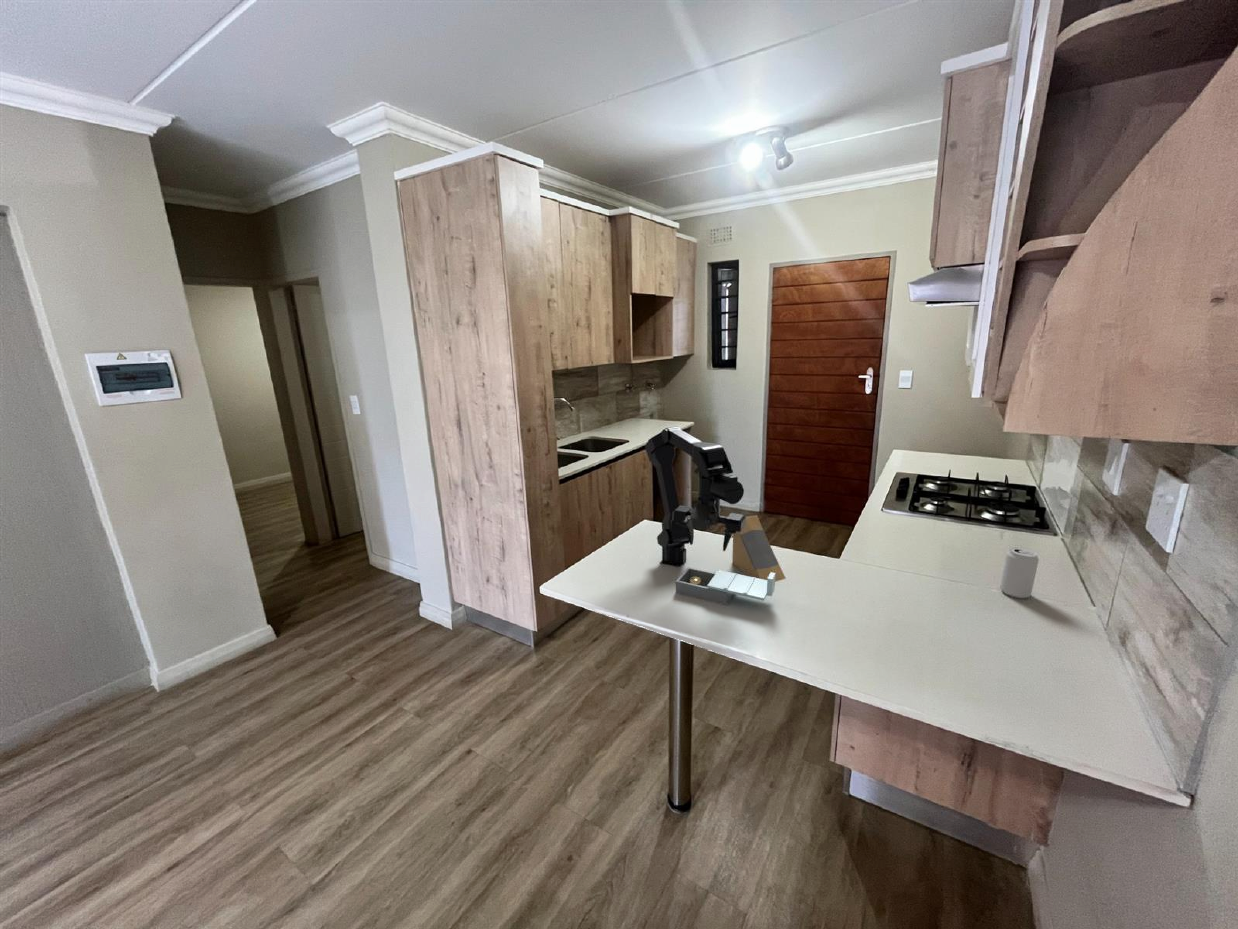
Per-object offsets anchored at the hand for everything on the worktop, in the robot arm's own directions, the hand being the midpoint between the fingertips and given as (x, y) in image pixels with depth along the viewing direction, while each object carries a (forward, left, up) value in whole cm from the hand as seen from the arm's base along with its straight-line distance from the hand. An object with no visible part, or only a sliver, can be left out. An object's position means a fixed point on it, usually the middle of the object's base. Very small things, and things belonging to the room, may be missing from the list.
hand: (707, 547), depth 130 cm
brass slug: (-2, -4, -11) cm, 12 cm away
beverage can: (+73, +32, -12) cm, 81 cm away
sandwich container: (+11, +15, -12) cm, 22 cm away
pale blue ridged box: (+10, -3, -8) cm, 13 cm away
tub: (+1, -3, -12) cm, 12 cm away
